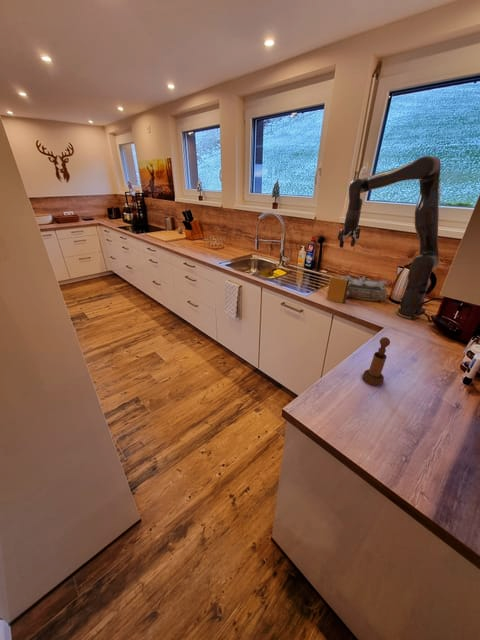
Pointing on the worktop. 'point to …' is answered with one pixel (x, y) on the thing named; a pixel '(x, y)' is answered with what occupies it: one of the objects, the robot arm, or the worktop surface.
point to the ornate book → (366, 289)
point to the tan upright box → (337, 289)
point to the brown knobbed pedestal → (377, 365)
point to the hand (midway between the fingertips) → (346, 246)
